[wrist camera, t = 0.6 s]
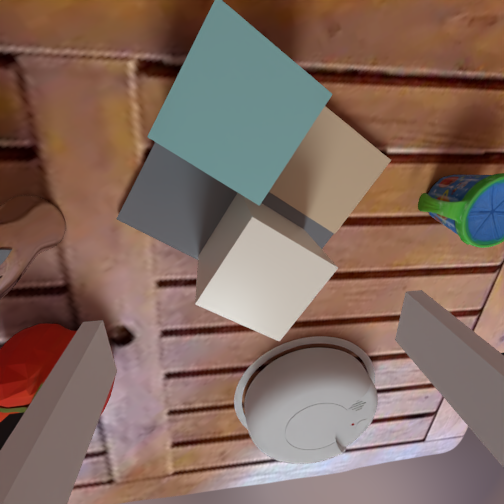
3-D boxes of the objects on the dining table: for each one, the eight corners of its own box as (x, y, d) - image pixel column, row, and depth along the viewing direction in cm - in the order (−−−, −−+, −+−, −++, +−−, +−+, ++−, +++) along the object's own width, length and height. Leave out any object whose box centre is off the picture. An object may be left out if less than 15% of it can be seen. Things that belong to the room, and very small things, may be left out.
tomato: (137, 378, 41) (116, 454, 32) (41, 398, 41) (-10, 483, 31) (103, 298, 36) (65, 362, 26) (-10, 320, 35) (-92, 394, 25)
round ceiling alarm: (255, 317, 41) (262, 349, 35) (404, 342, 46) (431, 372, 41) (212, 438, 49) (212, 478, 44) (342, 446, 55) (357, 482, 50)
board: (119, 216, 32) (115, 220, 31) (217, 22, 26) (217, 17, 25) (280, 297, 39) (282, 303, 38) (384, 158, 33) (391, 160, 32)
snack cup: (497, 172, 36) (563, 183, 29) (468, 230, 39) (523, 253, 32) (416, 156, 34) (468, 165, 27) (393, 220, 37) (434, 242, 30)
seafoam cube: (166, 132, 28) (147, 137, 19) (213, 39, 26) (216, -4, 17) (244, 181, 31) (259, 205, 22) (293, 102, 29) (332, 94, 20)
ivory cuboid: (198, 255, 34) (195, 304, 25) (239, 189, 32) (252, 216, 23) (261, 287, 37) (279, 341, 28) (304, 229, 35) (338, 267, 25)
